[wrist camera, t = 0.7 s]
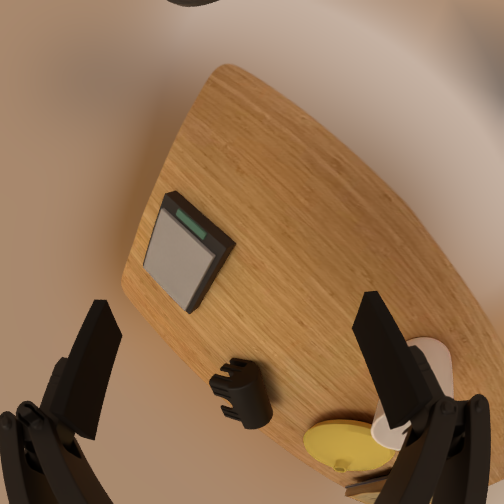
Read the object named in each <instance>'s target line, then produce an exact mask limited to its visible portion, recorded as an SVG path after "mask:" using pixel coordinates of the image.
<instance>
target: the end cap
mask: <svg viewBox="0 0 504 504" xmlns="http://www.w3.org/2000/svg"><path fill="white" fill-rule="evenodd" d="M220 370H221V371H224V372H228V373H229V376H230V377H225V376H221V375H218V374H214V375H213V376H212V378H211V379H210V380H209V384H210V386H211V388H212V390H213V393H214V394H215V395H216V396H220V397H223V398H225V399H227V400H228V401H229V402H230V403H231V404H232V406H233V408H230V407H226V406H223V405H222V406H221V409H222V411H223V413H224V415H225V416H226V417H229V418H231V419H235V420H238V421H241V422H242V424H243V426H244V428H245V429H258V428H261V427H263V426H265V425H266V424H267V423H269V421H270V420H271V418H272V416H273V410H272V407H271V404H270V401H269V398H268V395H267V391H266V388H265V385H264V382H263V379H262V376H261V372H260V369H259V367H258V366H257V365H256V363H254V362H252V361H247V360H242V359H237V358H232V359H231V360H230V364H226V363H225V364H224V365H223V366H222V367H221V368H220Z"/></svg>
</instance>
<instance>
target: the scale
mask: <svg viewBox="0 0 504 504" xmlns="http://www.w3.org/2000/svg"><path fill="white" fill-rule="evenodd" d="M235 244H236V243H235V242H234V241H233V240H231V239H230V238H229V237H228V236H227V235H226V234H225V233H223V232H222V231H221V230H220V229H219V228H218V227H217V226H215V225H214V224H213V223H212V222H211V221H210V220H209V219H207V218H206V217H205V216H204V215H203V214H202V213H201V212H199V211H198V210H197V209H196V208H195V207H194V206H193V205H192V204H190V203H189V202H188V201H187V200H186V199H185V198H184V197H182V196H181V195H180V194H179V193H178V192H177V191H173V192H169V193H165V195H164V198H163V201H162V204H161V207H160V210H159V213H158V216H157V219H156V222H155V225H154V228H153V232H152V235H151V238H150V242H149V245H148V248H147V252H146V255H145V259H144V262H143V268H144V269H145V270H146V271H147V272H148V273H149V274H150V275H151V276H152V277H153V279H154V280H155V281H156V282H157V283H158V284H159V285H160V286H161V287H162V288H163V289H164V290H165V291H166V292H167V293H168V294H169V296H170V297H171V298H172V299H173V300H174V301H175V302H176V303H177V304H178V305H179V306H180V307H181V308H182V309H183V310H184V311H186V312H187V313H189V314H191V313H192V312H193V311H195V310H196V309H197V308H198V307H199V305H200V303H201V302H202V300H203V298H204V296H205V295H206V293H207V291H208V289H209V288H210V286H211V284H212V283H213V281H214V279H215V278H216V276H217V274H218V272H219V271H220V269H221V267H222V266H223V264H224V262H225V261H226V259H227V257H228V256H229V254H230V252H231V250H232V249H233V247H234V245H235Z"/></svg>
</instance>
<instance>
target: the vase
mask: <svg viewBox="0 0 504 504" xmlns="http://www.w3.org/2000/svg"><path fill="white" fill-rule="evenodd" d="M371 427H372V425H371V424H368V423H365V422H360V421H354V420H341V419H337V420H328V421H324V422H320V423H317V424H316V425H314V426H313V427H311V428H310V429H309V430H308V431H307V432H306V433H305V435H304V437H303V443H304V445H305V448H306V450H307V452H308V453H309V454H310V455H311V456H312V457H313V458H315V459H316V460H318V461H319V462H321V463H323V464H325V465H327V466H330V467H333V469H334V470H335V471H337V472H346V471H347V470H348V471H366V470H371V469H375V468H378V467H380V466H383V465H384V464H385V463H387V462H388V461H389V460H391V459H392V458H393V456H394V454H395V450H392V449H389V448H386V447H383V446H381V445H380V444H378V443H377V442H376V441H375V440H374V439H373V437H372V435H371Z"/></svg>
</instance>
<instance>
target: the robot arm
mask: <svg viewBox="0 0 504 504" xmlns="http://www.w3.org/2000/svg"><path fill="white" fill-rule="evenodd" d="M352 330H353V332H354V334H355V337H356V339H357V342H358V344H359V346H360V349H361V351H362V354H363V356H364V359H365V361H366V364H367V367H368V369H369V372H370V374H371V377H372V380H373V382H374V385H375V388H376V390H377V393H378V396H379V399H380V401H381V404H382V407H383V410H384V413H385V416H386V418H387V421H388V424H389V427H390V430H392V429H395V428H398V427H400V426H403V425H405V424H406V423H407V422H408V421H409V420H410V422H411V425H410V426H409V427H408V428H406V429H405V430H404V431H403V433H402V434H403V435H404V434H405V433H406V432H407V435H406V437H405V440H404V442H403V445H402V447H401V450H400V452H399V454H398V457H397V459H396V461H395V463H394V466H393V468H392V470H391V472H390V474H389V476H388V478H387V480H386V482H385V484H384V486H383V488H382V490H381V492H380V493H379V495H378V497H377V499H376V501H375V502H374V504H429V503H430V501H431V499H432V503H431V504H486V498H487V491H488V483H489V472H490V455H491V428H490V410H489V403H488V400H487V399H486V397H484V396H483V395H481V394H477V395H475V396H473V397H472V398H471V399H470V400H466V401H455V400H454V399H453V398H451V397H449V396H446V395H445V394H444V393H443V391H442V389H441V387H440V385H439V382H438V380H437V378H436V376H435V374H434V372H433V370H432V369H431V366H430V364H429V363H428V362H427V359H426V357H425V355H424V353H423V352H422V351H421V350H420V349H419V348H418V347H417V346H416V345H413V346H408V345H407V343H406V341H405V339H404V337H403V335H402V333H401V331H400V330H399V328H398V326H397V324H396V322H395V321H394V319H393V317H392V315H391V314H390V312H389V310H388V308H387V307H386V305H385V303H384V301H383V300H382V298H381V296H380V295H379V293H378V291H370V292H364V295H363V298H362V301H361V304H360V307H359V310H358V313H357V316H356V318H355V321H354V324H353V326H352ZM121 338H122V333H121V331H120V329H119V327H118V325H117V323H116V321H115V318H114V316H113V314H112V312H111V309H110V307H109V304H108V302H107V300H94V302H93V304H92V306H91V308H90V310H89V312H88V314H87V316H86V318H85V320H84V322H83V324H82V327H81V329H80V331H79V333H78V335H77V338H76V340H75V342H74V345H73V347H72V349H71V352H70V354H69V357H68V358H64V357H62V358H61V359H60V360H59V361H58V362H57V364H56V365H55V367H54V370H53V372H52V376H51V377H50V380H49V383H48V385H47V388H46V391H45V394H44V396H43V399H42V402H41V405H40V408H38V407H37V406H36V405H35V404H33V403H32V402H31V401H24V402H22V403H21V404H20V405H19V407H18V408H17V411H16V416H15V415H13V414H12V413H11V412H9V411H6V412H3V413H2V414H1V415H0V456H1V463H2V470H3V476H4V481H5V486H6V491H7V496H8V500H9V504H113V502H112V501H111V499H110V498H109V497H108V495H107V493H106V492H105V490H104V489H103V487H102V486H101V484H100V482H99V481H98V479H97V477H96V476H95V474H94V472H93V471H92V469H91V467H90V465H89V463H88V462H87V460H86V458H85V456H84V454H83V452H82V450H81V448H80V446H79V444H78V442H77V440H76V438H75V437H74V435H75V433H77V434H78V435H79V436H81V437H84V438H87V439H91V440H95V436H96V432H97V427H98V422H99V418H100V413H101V409H102V405H103V401H104V397H105V393H106V389H107V385H108V382H109V378H110V375H111V371H112V368H113V364H114V361H115V358H116V354H117V351H118V347H119V345H120V342H121ZM24 448H25V450H24ZM432 496H433V498H432Z"/></svg>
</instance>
